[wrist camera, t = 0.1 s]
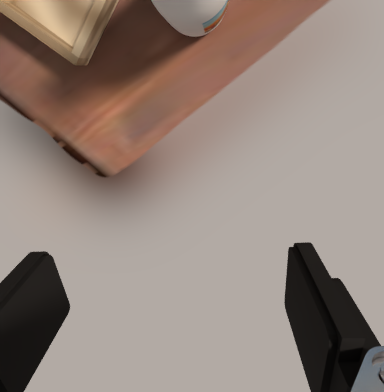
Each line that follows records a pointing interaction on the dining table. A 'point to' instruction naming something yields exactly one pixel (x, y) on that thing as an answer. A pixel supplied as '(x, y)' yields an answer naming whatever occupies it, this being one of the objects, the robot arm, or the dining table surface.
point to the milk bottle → (192, 14)
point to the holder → (63, 24)
